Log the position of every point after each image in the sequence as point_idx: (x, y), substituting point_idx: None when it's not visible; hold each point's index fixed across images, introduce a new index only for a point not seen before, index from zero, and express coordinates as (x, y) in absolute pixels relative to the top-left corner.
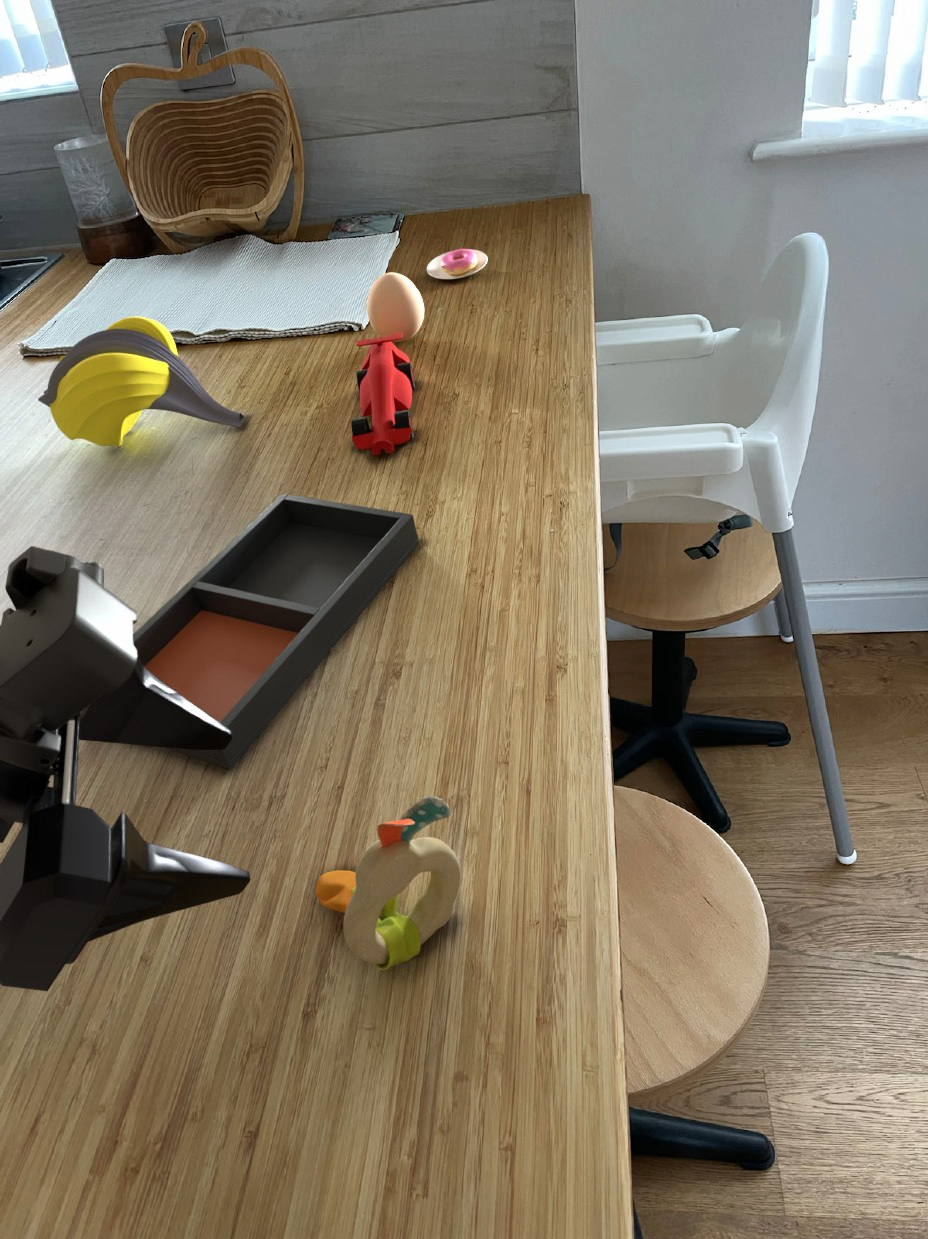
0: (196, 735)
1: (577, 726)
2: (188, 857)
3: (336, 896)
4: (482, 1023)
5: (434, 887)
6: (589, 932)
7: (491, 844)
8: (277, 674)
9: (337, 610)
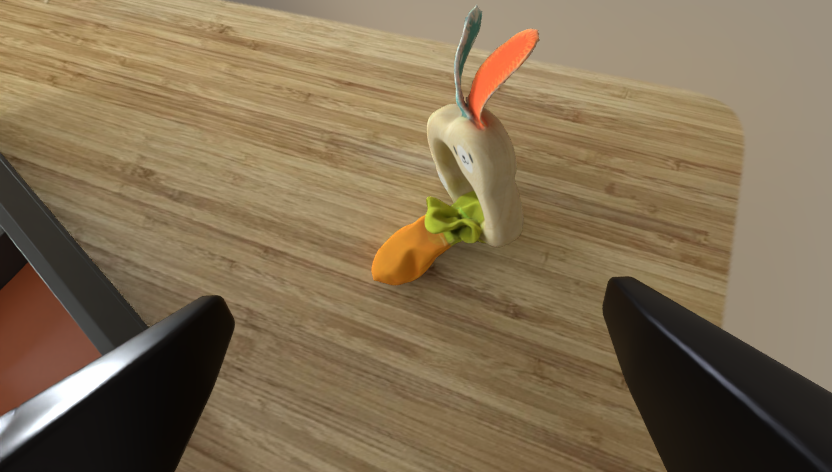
0: (186, 371)
1: (296, 31)
2: (772, 397)
3: (417, 260)
4: (566, 163)
5: (451, 157)
6: None
7: (392, 123)
8: (75, 289)
9: (15, 208)
